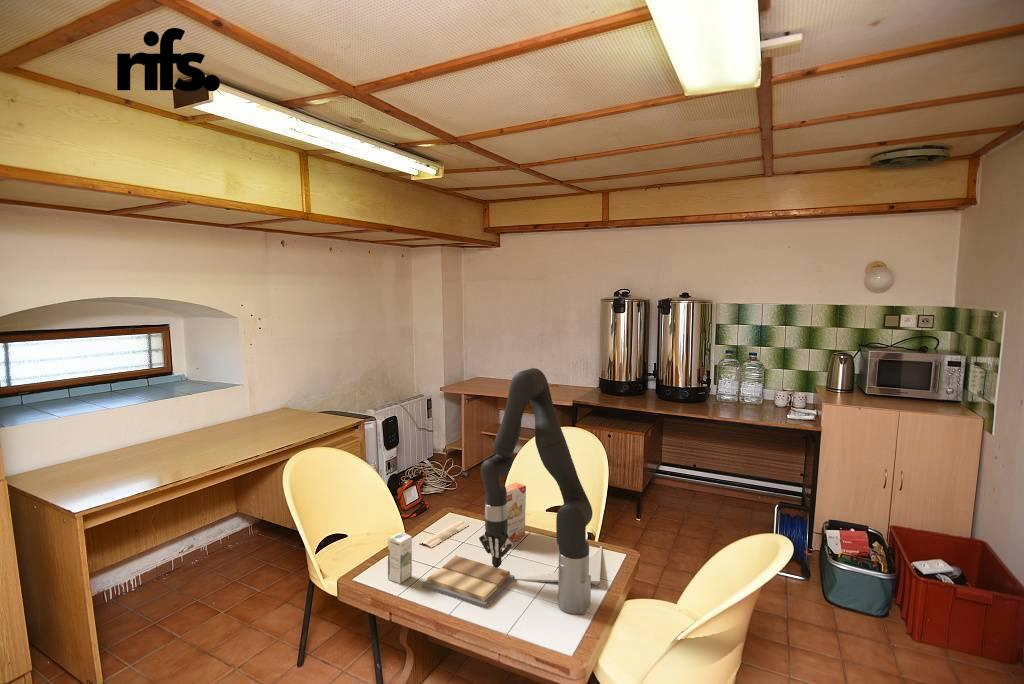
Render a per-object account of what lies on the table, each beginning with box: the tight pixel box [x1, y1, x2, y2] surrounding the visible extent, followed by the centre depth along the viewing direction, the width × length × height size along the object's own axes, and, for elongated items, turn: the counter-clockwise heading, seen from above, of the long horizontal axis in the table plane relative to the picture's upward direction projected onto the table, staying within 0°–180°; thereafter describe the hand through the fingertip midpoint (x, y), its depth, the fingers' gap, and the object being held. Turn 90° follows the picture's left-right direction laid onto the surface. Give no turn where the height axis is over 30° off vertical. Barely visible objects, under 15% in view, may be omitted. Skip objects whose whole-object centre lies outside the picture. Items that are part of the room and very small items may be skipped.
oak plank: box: [426, 566, 497, 601], centre depth 167 cm, size 22×8×2 cm, turn 61°
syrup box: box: [387, 532, 413, 585], centre depth 173 cm, size 6×6×14 cm
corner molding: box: [513, 545, 603, 586], centre depth 185 cm, size 30×2×30 cm
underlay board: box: [422, 574, 516, 609], centre depth 171 cm, size 24×19×1 cm
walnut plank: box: [442, 555, 511, 588], centre depth 174 cm, size 22×8×2 cm, turn 61°
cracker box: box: [503, 482, 527, 547], centre depth 202 cm, size 14×6×21 cm, turn 136°
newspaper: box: [418, 520, 469, 549], centre depth 206 cm, size 24×7×2 cm, turn 147°
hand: (496, 566), depth 172 cm, fingers closed
